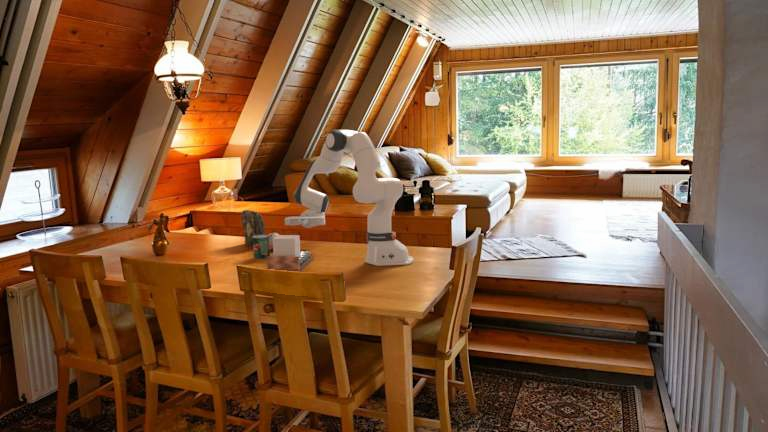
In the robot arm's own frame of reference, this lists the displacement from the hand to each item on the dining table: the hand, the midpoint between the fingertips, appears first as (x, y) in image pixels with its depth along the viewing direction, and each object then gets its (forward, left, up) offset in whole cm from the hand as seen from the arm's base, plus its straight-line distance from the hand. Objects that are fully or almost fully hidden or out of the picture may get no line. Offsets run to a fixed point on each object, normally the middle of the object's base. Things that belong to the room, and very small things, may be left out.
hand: (301, 223), depth 285 cm
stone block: (+35, -26, -17) cm, 47 cm away
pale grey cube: (0, +24, -12) cm, 27 cm away
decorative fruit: (+20, -16, -17) cm, 31 cm away
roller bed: (0, +20, -17) cm, 26 cm away
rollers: (0, +18, -15) cm, 23 cm away
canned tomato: (+20, +3, -17) cm, 27 cm away
